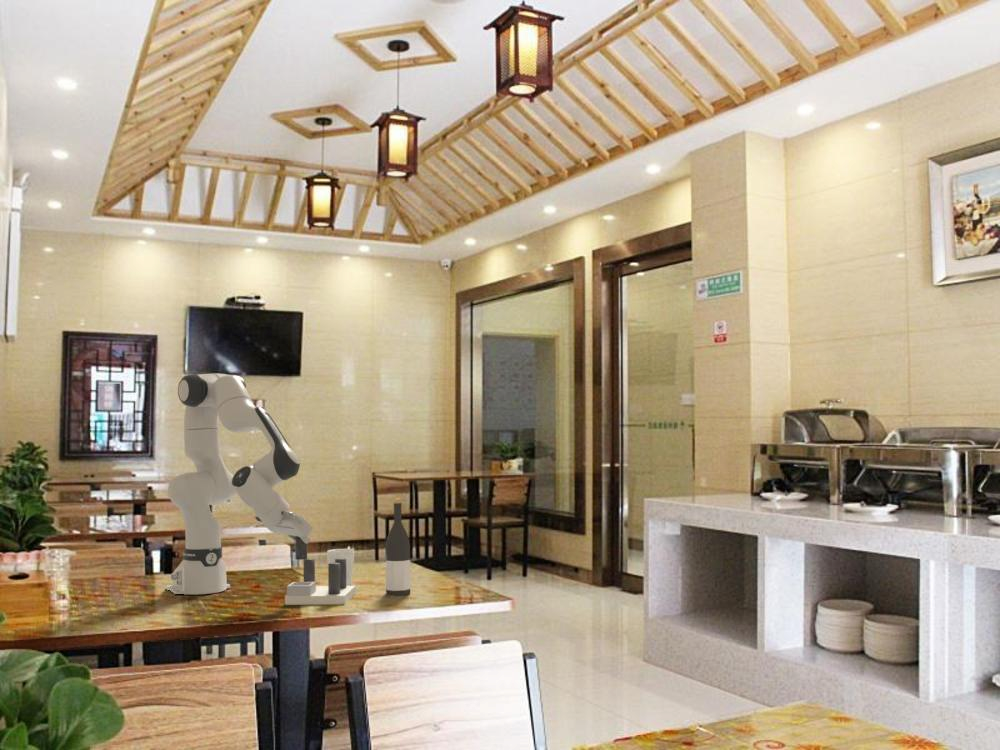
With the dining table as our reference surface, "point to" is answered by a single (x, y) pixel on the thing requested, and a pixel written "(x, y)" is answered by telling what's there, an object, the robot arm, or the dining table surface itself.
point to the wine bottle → (397, 556)
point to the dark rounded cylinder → (300, 549)
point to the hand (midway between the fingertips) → (303, 541)
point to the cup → (349, 557)
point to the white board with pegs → (321, 594)
